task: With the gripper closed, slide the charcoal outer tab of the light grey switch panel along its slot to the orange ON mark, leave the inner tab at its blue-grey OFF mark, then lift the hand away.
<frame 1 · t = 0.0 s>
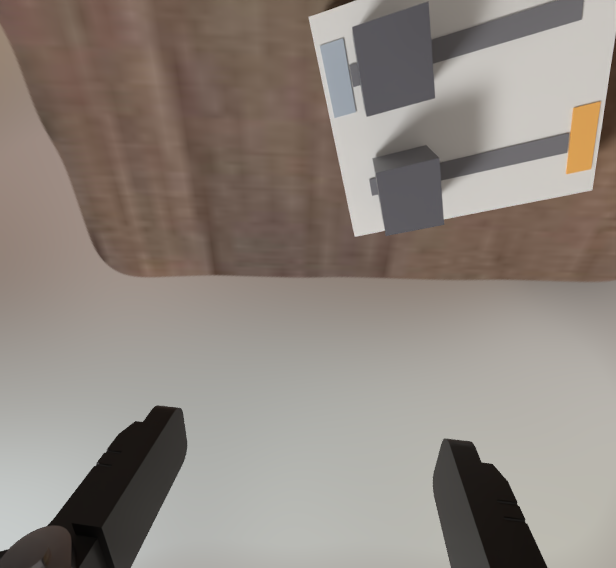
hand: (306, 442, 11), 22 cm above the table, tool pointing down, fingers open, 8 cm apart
inner tab: (391, 64, 19), point 6 cm above the table, slide at 0.0 cm
switch panel: (446, 104, 25), on the table
outer tab: (406, 189, 22), point 6 cm above the table, slide at 0.0 cm
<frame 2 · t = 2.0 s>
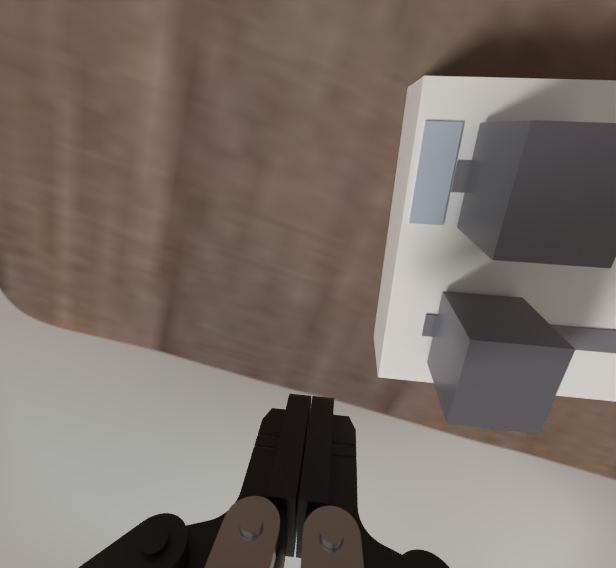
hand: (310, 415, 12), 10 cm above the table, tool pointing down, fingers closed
inner tab: (539, 188, 12), point 6 cm above the table, slide at 0.0 cm
switch panel: (538, 240, 18), on the table
outer tab: (487, 357, 15), point 6 cm above the table, slide at 0.0 cm
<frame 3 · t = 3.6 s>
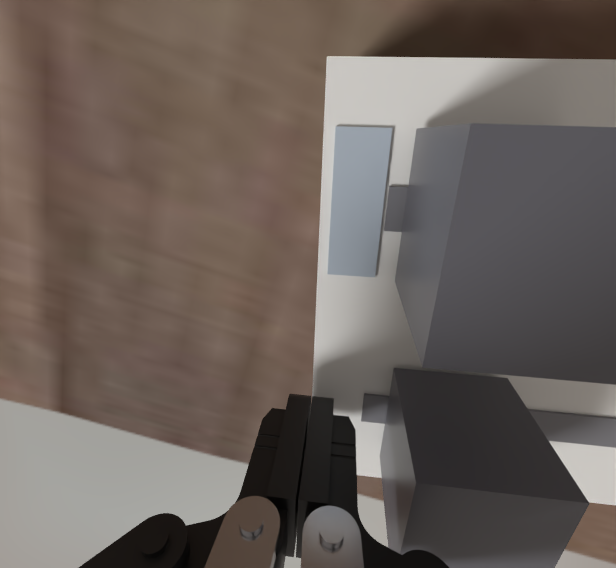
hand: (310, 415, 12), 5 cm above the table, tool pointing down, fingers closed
inner tab: (505, 235, 7), point 6 cm above the table, slide at 0.0 cm
switch panel: (521, 283, 14), on the table
outer tab: (454, 473, 10), point 6 cm above the table, slide at 0.4 cm, touching gripper
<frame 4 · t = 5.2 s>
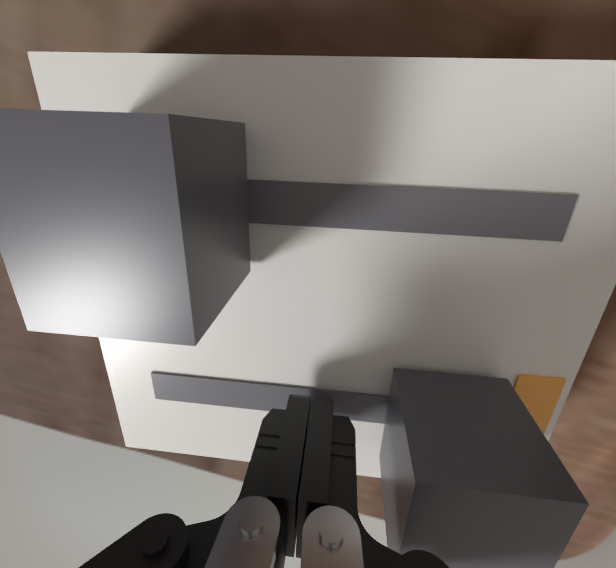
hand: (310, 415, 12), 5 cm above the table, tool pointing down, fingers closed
inner tab: (148, 215, 8), point 6 cm above the table, slide at 0.0 cm
switch panel: (330, 270, 15), on the table
outer tab: (454, 473, 10), point 6 cm above the table, slide at 8.1 cm, touching gripper
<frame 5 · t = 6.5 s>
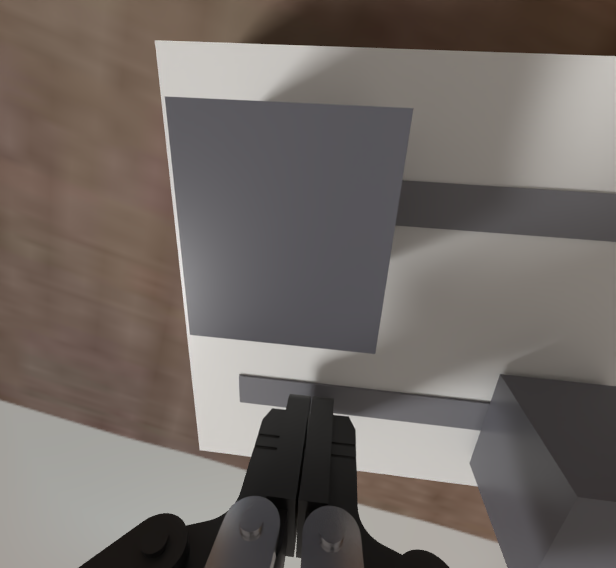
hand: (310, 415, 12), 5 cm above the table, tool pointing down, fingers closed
inner tab: (298, 214, 7), point 6 cm above the table, slide at 0.0 cm
switch panel: (410, 272, 14), on the table
outer tab: (573, 483, 10), point 6 cm above the table, slide at 8.1 cm
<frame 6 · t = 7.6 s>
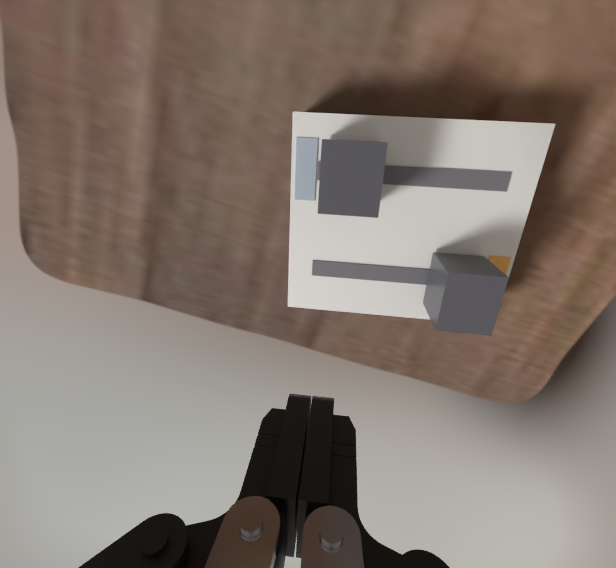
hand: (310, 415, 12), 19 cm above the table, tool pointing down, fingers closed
inner tab: (350, 176, 21), point 6 cm above the table, slide at 0.0 cm
switch panel: (395, 216, 28), on the table
outer tab: (460, 291, 23), point 6 cm above the table, slide at 8.1 cm
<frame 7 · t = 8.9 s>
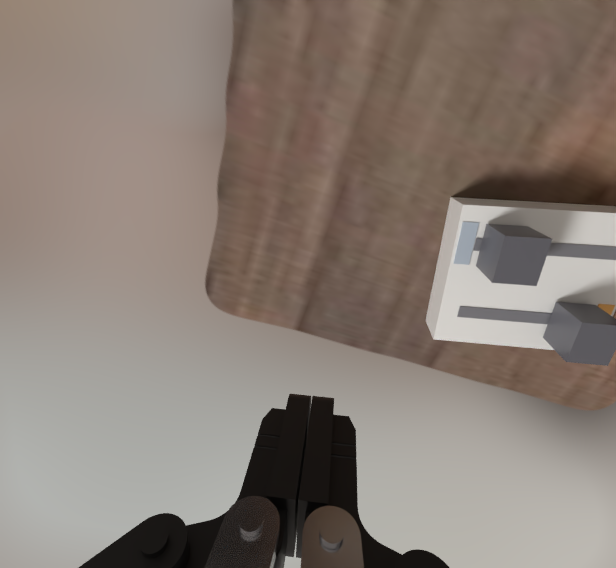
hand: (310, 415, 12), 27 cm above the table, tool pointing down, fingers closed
inner tab: (510, 253, 29), point 6 cm above the table, slide at 0.0 cm
switch panel: (515, 268, 36), on the table
outer tab: (580, 332, 31), point 6 cm above the table, slide at 8.1 cm
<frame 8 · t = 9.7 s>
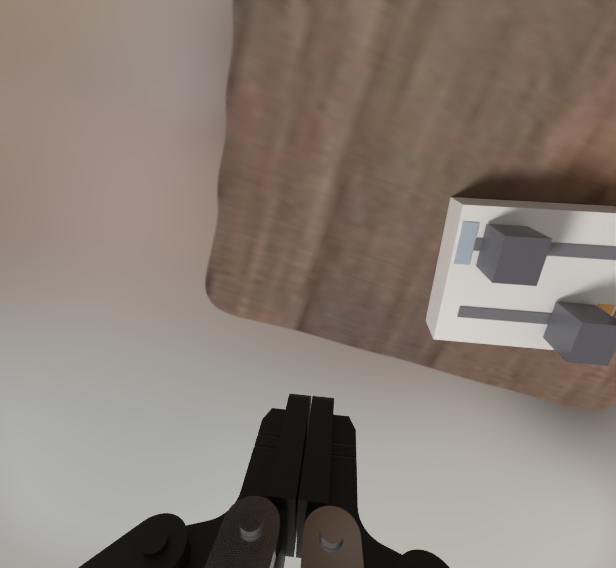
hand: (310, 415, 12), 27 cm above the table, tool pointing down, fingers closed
inner tab: (510, 253, 29), point 6 cm above the table, slide at 0.0 cm
switch panel: (515, 268, 36), on the table
outer tab: (581, 332, 31), point 6 cm above the table, slide at 8.1 cm
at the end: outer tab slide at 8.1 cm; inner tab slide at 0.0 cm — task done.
